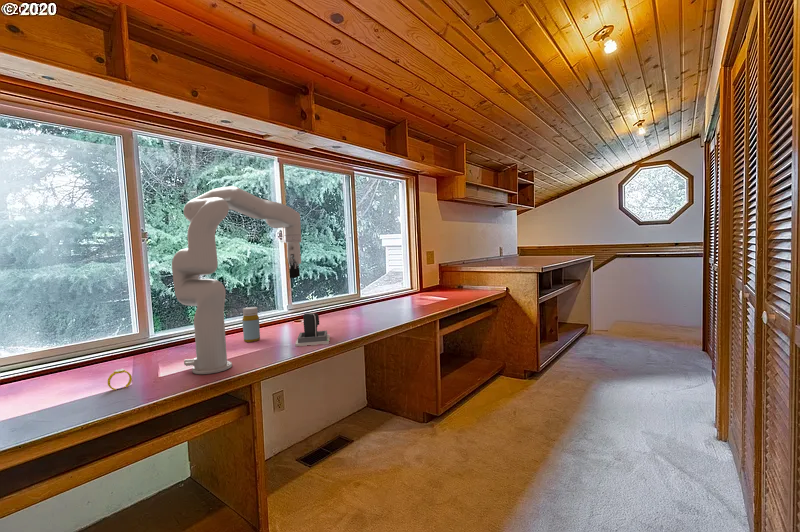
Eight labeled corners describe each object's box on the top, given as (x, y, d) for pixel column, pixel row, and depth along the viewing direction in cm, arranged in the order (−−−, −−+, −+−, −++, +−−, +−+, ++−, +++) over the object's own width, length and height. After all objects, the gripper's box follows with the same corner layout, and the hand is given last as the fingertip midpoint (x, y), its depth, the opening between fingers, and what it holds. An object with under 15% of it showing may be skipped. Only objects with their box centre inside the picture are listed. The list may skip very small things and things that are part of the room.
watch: (130, 386, 125) (130, 367, 125) (132, 388, 123) (132, 368, 123) (106, 390, 120) (107, 371, 120) (109, 392, 119) (109, 372, 119)
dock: (295, 346, 165) (294, 339, 165) (298, 339, 179) (297, 332, 179) (329, 344, 168) (328, 336, 167) (329, 336, 181) (329, 329, 181)
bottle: (253, 338, 185) (252, 306, 185) (263, 339, 181) (261, 307, 181) (240, 341, 180) (238, 308, 179) (250, 343, 176) (247, 309, 175)
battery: (321, 338, 173) (320, 312, 172) (314, 340, 170) (313, 314, 169) (310, 337, 177) (309, 311, 176) (304, 339, 174) (302, 313, 173)
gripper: (299, 238, 171) (301, 278, 171) (303, 239, 188) (305, 275, 189) (281, 239, 170) (283, 279, 170) (286, 240, 187) (288, 276, 187)
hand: (294, 277), depth 179 cm, fingers open, 9 cm apart
